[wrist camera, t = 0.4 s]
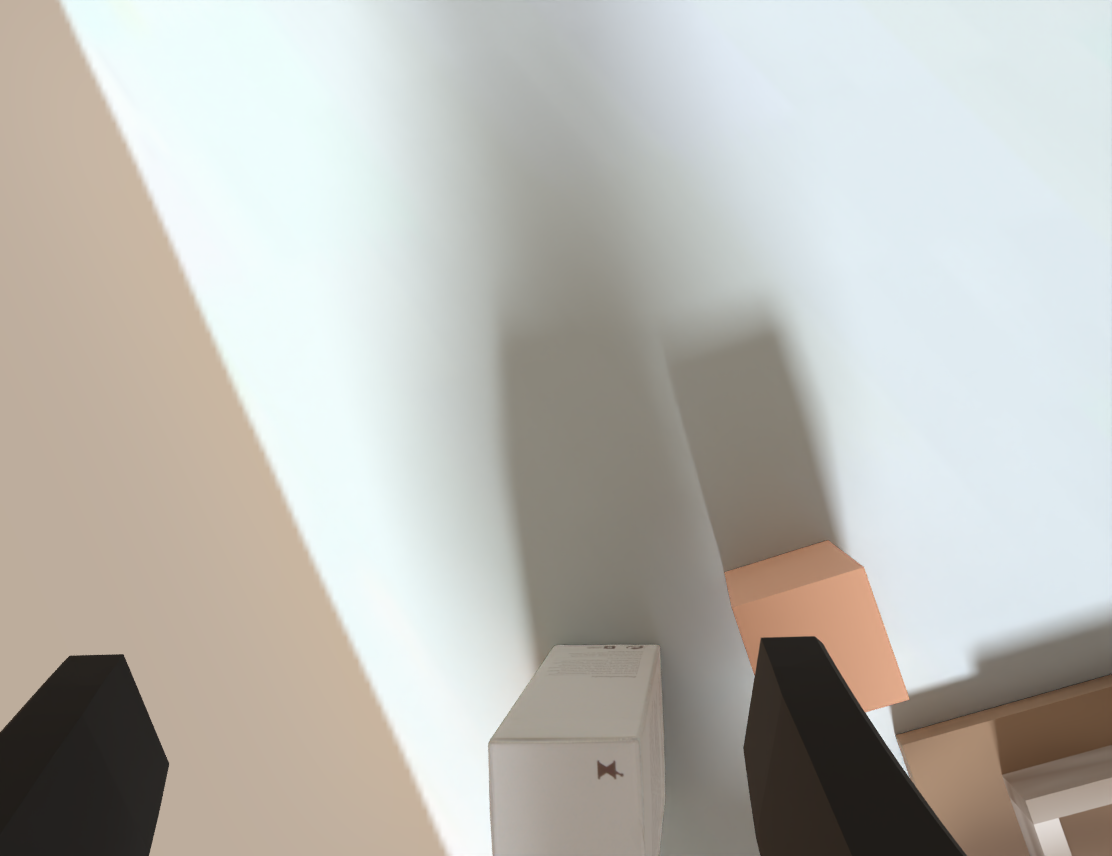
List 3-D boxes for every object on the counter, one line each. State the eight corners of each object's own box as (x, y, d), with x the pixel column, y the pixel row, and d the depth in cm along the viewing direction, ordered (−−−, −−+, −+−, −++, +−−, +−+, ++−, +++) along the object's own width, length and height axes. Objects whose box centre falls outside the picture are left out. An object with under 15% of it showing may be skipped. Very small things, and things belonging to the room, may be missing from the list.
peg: (863, 643, 36) (909, 699, 29) (758, 674, 37) (775, 737, 29) (827, 539, 37) (863, 567, 29) (724, 572, 37) (731, 607, 29)
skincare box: (550, 642, 38) (484, 733, 26) (661, 642, 37) (645, 734, 26) (556, 801, 38) (492, 964, 26) (667, 803, 37) (653, 970, 25)
